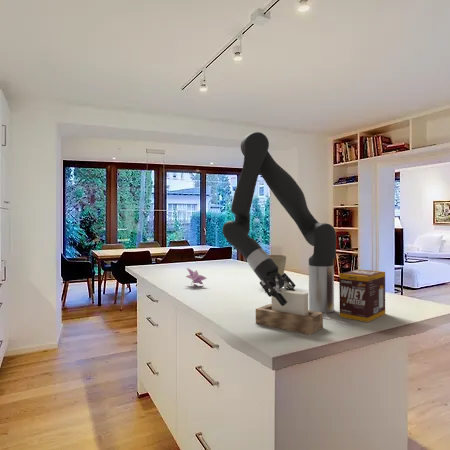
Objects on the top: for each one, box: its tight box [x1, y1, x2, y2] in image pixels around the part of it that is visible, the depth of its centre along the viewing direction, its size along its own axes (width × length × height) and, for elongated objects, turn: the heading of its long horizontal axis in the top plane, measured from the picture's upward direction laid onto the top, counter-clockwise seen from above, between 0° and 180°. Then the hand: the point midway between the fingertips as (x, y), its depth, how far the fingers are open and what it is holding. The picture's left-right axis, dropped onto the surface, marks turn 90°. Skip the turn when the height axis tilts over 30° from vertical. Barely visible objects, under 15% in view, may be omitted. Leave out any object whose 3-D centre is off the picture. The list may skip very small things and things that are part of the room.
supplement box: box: [338, 268, 386, 323], centre depth 129 cm, size 10×15×16 cm
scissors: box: [323, 313, 350, 328], centre depth 125 cm, size 11×1×20 cm
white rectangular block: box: [271, 289, 309, 316], centre depth 118 cm, size 12×3×10 cm, turn 50°
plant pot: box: [268, 254, 287, 275], centre depth 187 cm, size 15×15×16 cm
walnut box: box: [255, 303, 324, 335], centre depth 118 cm, size 20×9×5 cm, turn 50°
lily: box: [185, 267, 207, 286], centre depth 190 cm, size 12×12×10 cm
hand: (291, 302), depth 118 cm, fingers open, 8 cm apart
